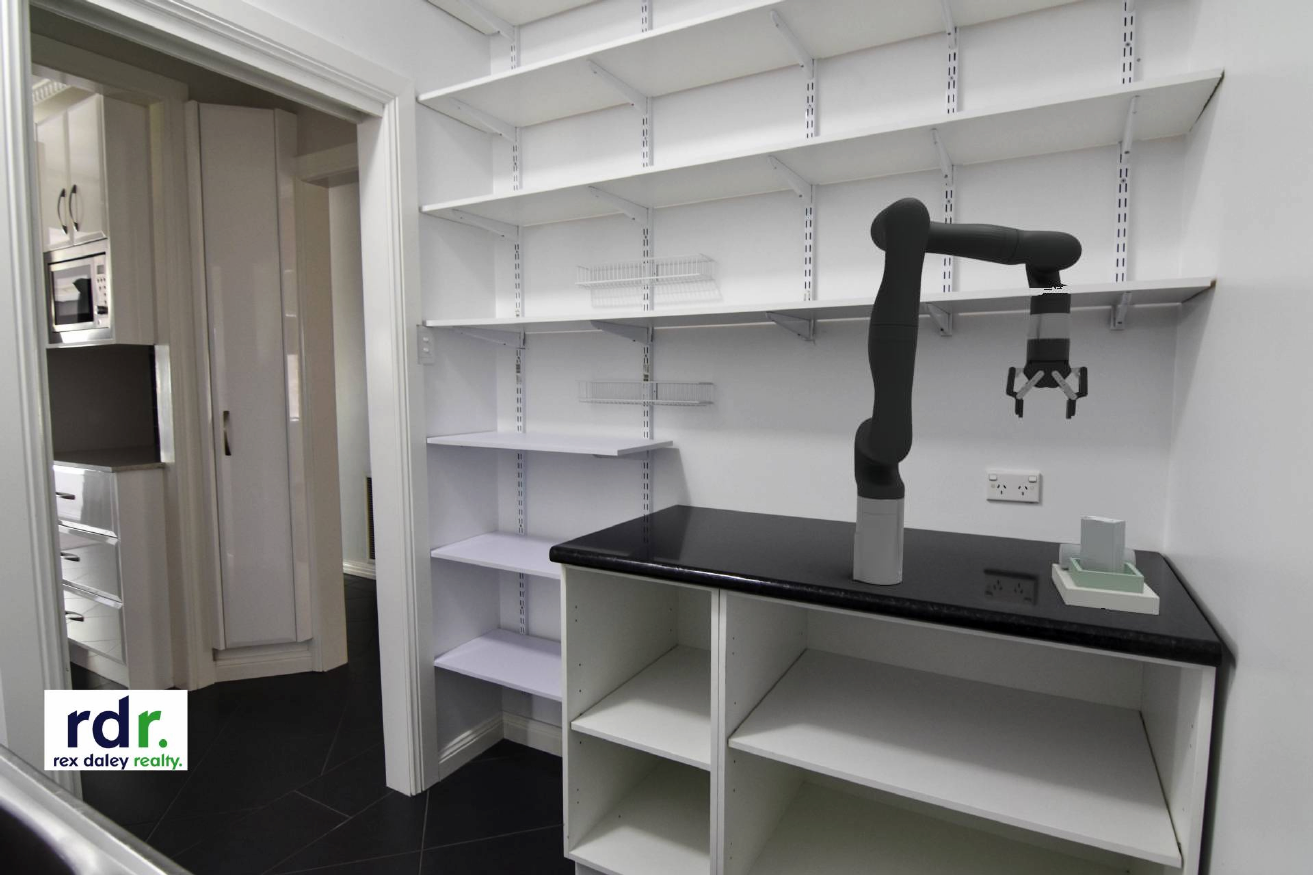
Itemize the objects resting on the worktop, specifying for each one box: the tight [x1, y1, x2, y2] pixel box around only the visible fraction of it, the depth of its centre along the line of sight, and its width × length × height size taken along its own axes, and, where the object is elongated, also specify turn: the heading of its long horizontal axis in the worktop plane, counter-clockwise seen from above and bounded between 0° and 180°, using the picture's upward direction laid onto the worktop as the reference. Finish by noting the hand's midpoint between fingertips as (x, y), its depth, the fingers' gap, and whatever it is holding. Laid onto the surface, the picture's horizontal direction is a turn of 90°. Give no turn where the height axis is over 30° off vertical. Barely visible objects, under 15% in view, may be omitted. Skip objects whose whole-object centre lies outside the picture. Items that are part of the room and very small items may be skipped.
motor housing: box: [1051, 543, 1161, 616], centre depth 129 cm, size 14×18×8 cm
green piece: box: [1068, 557, 1145, 593], centre depth 127 cm, size 10×10×3 cm
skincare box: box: [1080, 515, 1126, 574], centre depth 127 cm, size 6×4×12 cm
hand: (1044, 418), depth 138 cm, fingers open, 8 cm apart
